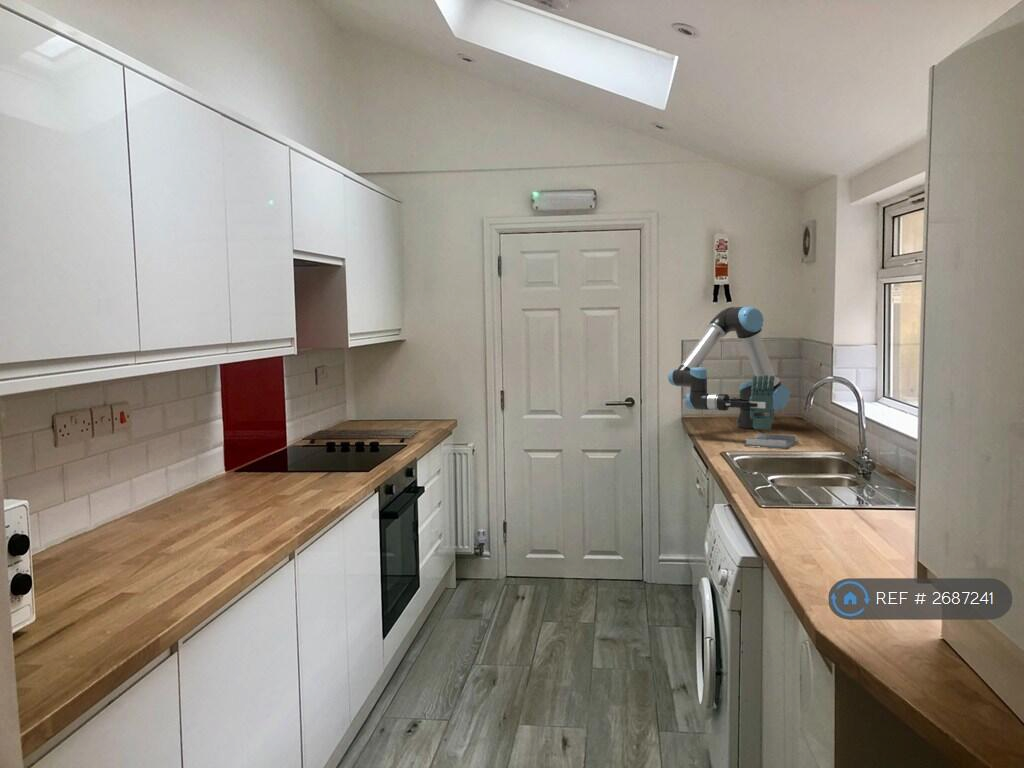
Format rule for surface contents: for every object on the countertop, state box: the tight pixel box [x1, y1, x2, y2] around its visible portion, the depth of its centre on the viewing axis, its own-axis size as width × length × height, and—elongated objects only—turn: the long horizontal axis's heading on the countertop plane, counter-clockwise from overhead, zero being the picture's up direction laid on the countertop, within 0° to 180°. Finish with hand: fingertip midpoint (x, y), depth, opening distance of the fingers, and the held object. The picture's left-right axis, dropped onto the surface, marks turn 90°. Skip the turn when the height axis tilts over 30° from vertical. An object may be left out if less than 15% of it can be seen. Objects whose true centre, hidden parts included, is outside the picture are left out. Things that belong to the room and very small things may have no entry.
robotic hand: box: [743, 375, 776, 430], centre depth 355 cm, size 14×10×25 cm
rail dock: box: [743, 432, 799, 450], centre depth 355 cm, size 18×18×4 cm
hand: (768, 404), depth 354 cm, fingers closed on robotic hand, 8 cm apart
